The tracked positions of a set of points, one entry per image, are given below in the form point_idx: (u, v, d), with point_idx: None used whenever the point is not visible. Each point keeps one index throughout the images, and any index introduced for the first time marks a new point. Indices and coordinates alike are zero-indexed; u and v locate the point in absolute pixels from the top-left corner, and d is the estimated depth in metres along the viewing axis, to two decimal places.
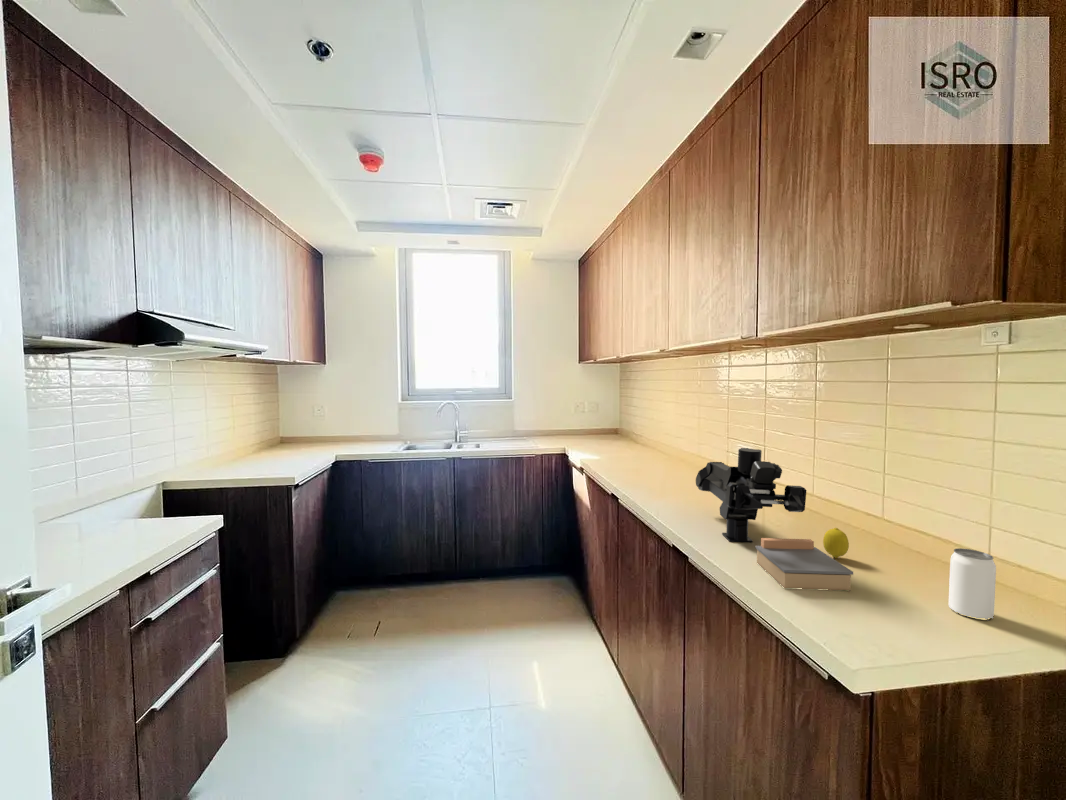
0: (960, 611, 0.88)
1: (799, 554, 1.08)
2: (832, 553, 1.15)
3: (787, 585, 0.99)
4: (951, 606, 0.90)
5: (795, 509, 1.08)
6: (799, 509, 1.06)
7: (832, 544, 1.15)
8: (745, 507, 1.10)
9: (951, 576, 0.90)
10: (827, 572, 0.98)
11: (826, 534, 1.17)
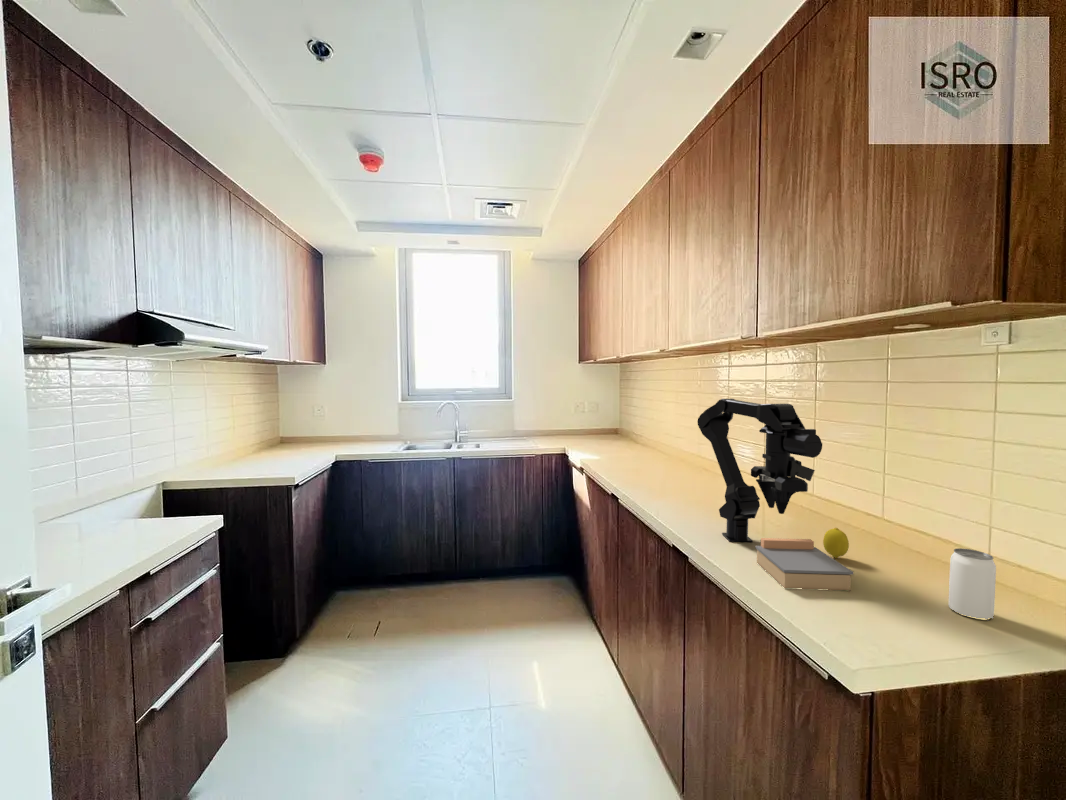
0: (960, 611, 0.88)
1: (799, 554, 1.08)
2: (832, 553, 1.15)
3: (787, 585, 0.99)
4: (951, 606, 0.90)
5: (767, 497, 1.20)
6: (770, 505, 1.20)
7: (832, 544, 1.15)
8: (777, 496, 1.13)
9: (951, 576, 0.90)
10: (827, 572, 0.98)
11: (826, 534, 1.17)
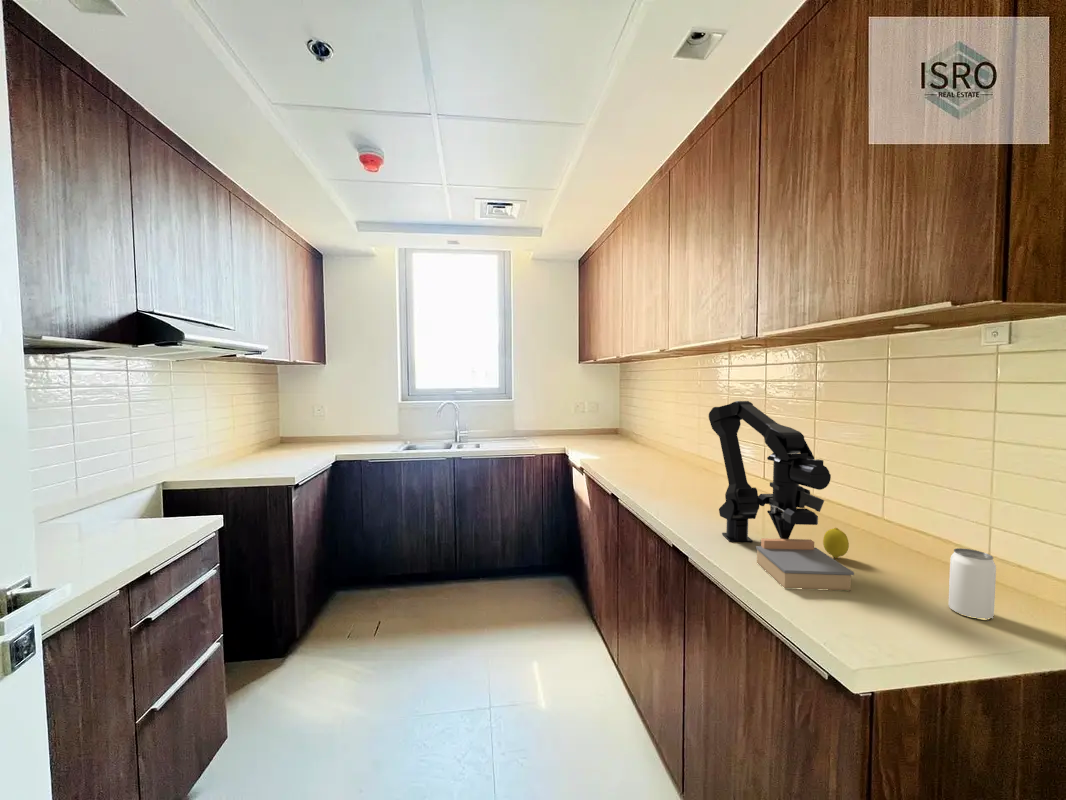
0: (960, 611, 0.88)
1: (799, 554, 1.07)
2: (832, 553, 1.15)
3: (787, 585, 0.99)
4: (951, 606, 0.90)
5: None
6: (782, 538, 1.13)
7: (832, 544, 1.15)
8: (780, 525, 1.11)
9: (951, 576, 0.90)
10: (828, 572, 0.98)
11: (826, 534, 1.17)
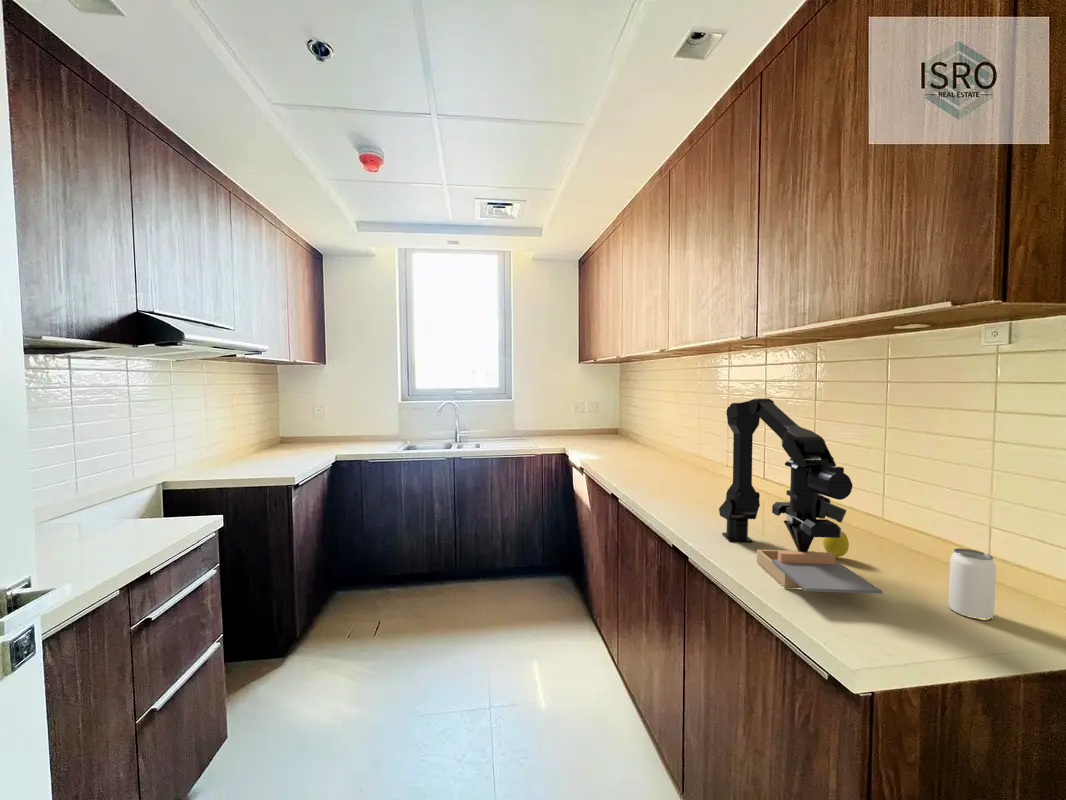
0: (960, 611, 0.88)
1: (820, 569, 0.99)
2: None
3: (787, 585, 0.99)
4: (951, 606, 0.90)
5: None
6: (800, 551, 1.05)
7: (832, 544, 1.15)
8: (799, 536, 1.03)
9: (951, 576, 0.90)
10: (853, 591, 0.89)
11: None
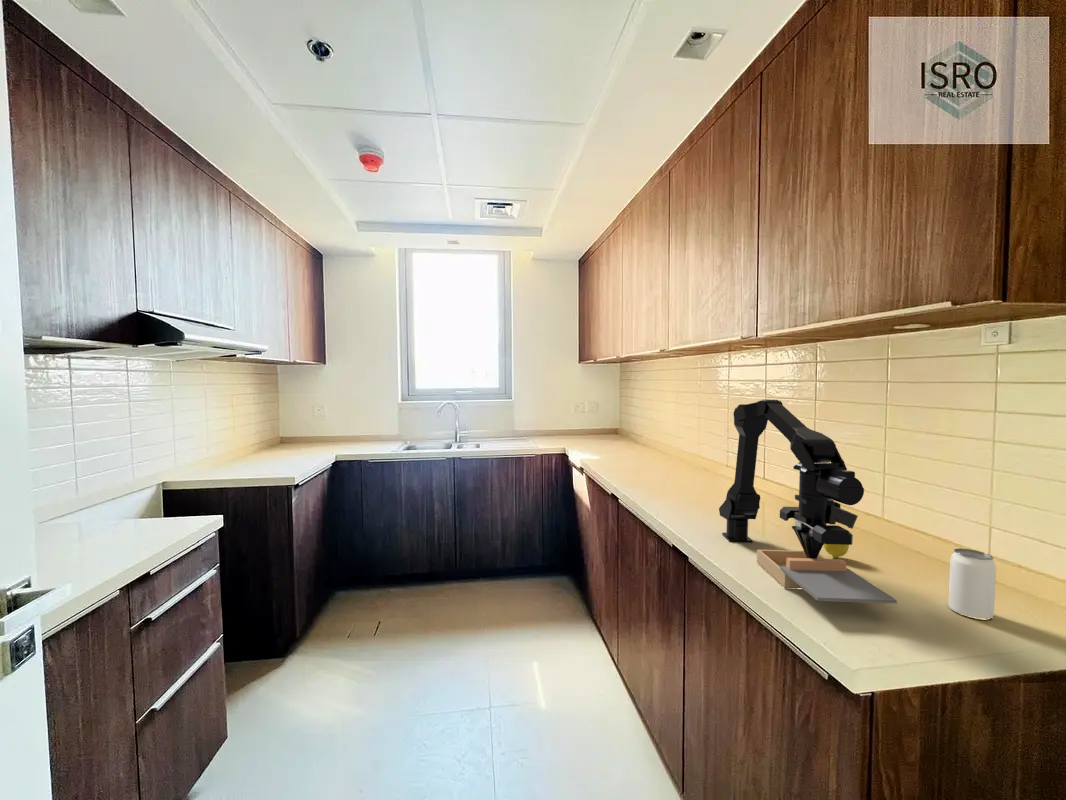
0: (960, 611, 0.88)
1: (831, 577, 0.95)
2: (832, 552, 1.15)
3: (787, 585, 0.99)
4: (951, 606, 0.90)
5: None
6: None
7: (832, 544, 1.15)
8: (808, 543, 0.99)
9: (951, 576, 0.90)
10: (867, 600, 0.85)
11: None
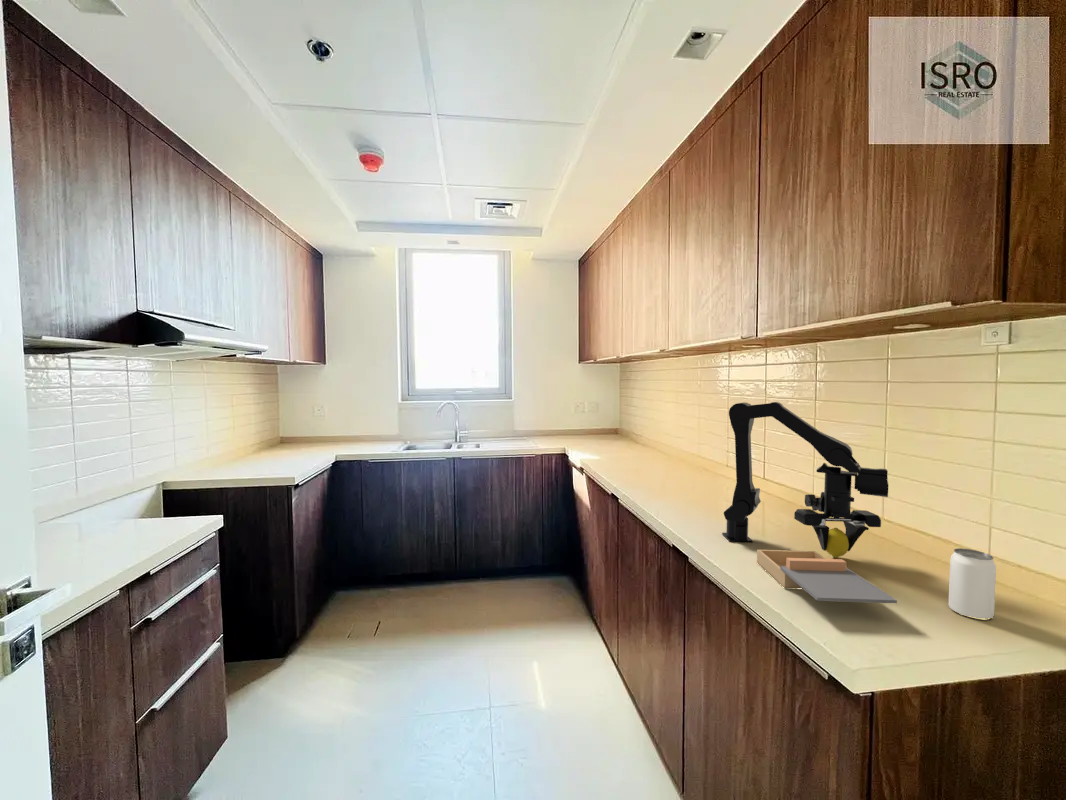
0: (960, 611, 0.88)
1: (831, 577, 0.95)
2: (832, 552, 1.15)
3: (787, 585, 0.99)
4: (951, 606, 0.90)
5: None
6: None
7: (832, 544, 1.15)
8: None
9: (951, 576, 0.90)
10: (867, 600, 0.85)
11: None
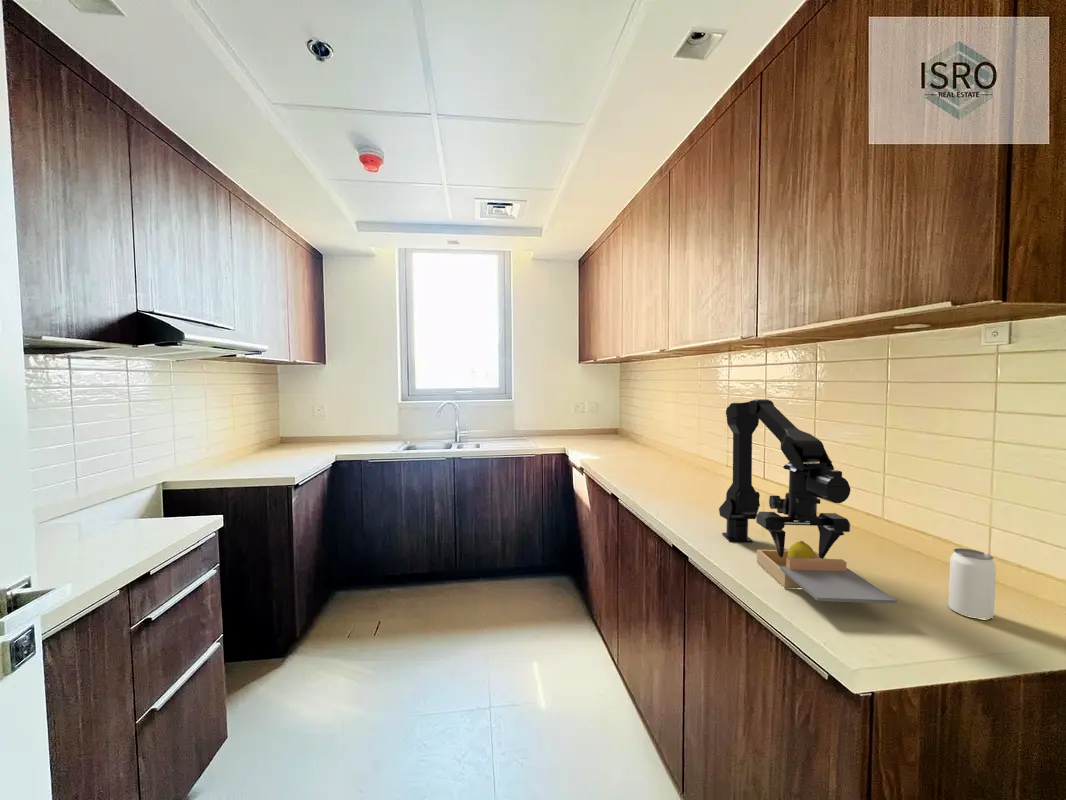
0: (960, 611, 0.88)
1: (831, 577, 0.95)
2: None
3: (787, 585, 0.99)
4: (951, 606, 0.90)
5: None
6: None
7: None
8: None
9: (951, 576, 0.90)
10: (867, 600, 0.85)
11: (791, 548, 1.06)
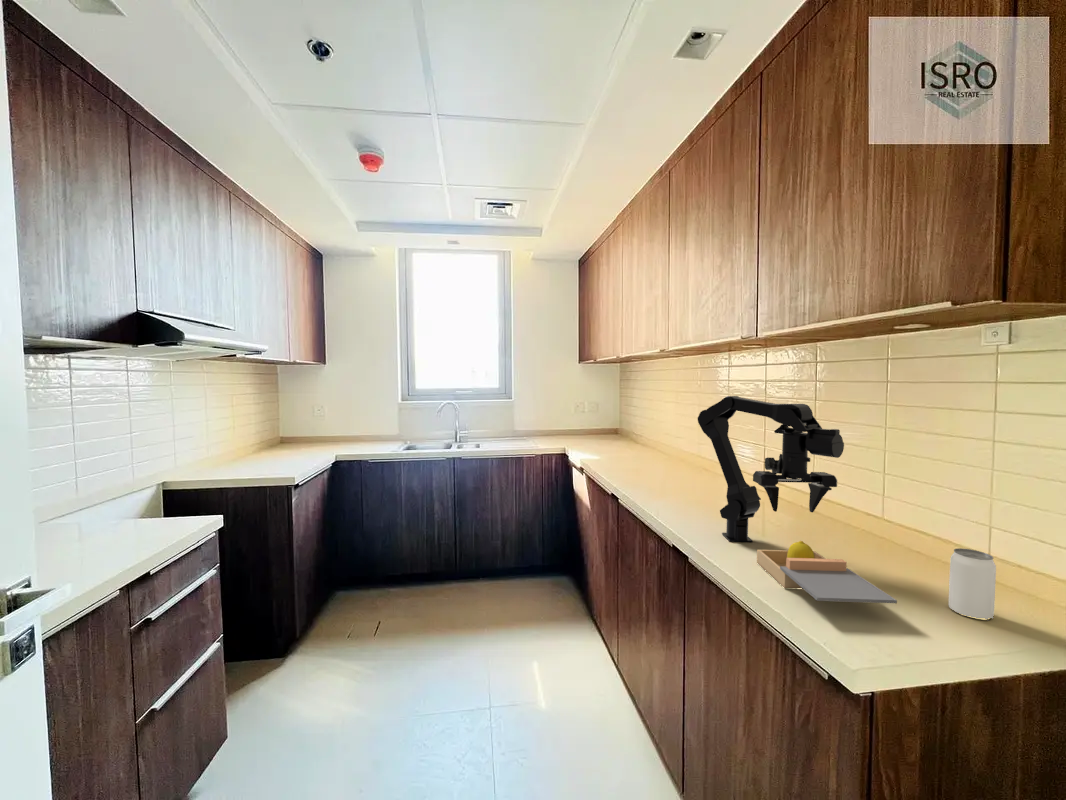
0: (960, 611, 0.88)
1: (831, 577, 0.95)
2: None
3: (787, 585, 0.99)
4: (951, 606, 0.90)
5: None
6: None
7: None
8: None
9: (951, 576, 0.90)
10: (867, 600, 0.85)
11: (790, 548, 1.06)
